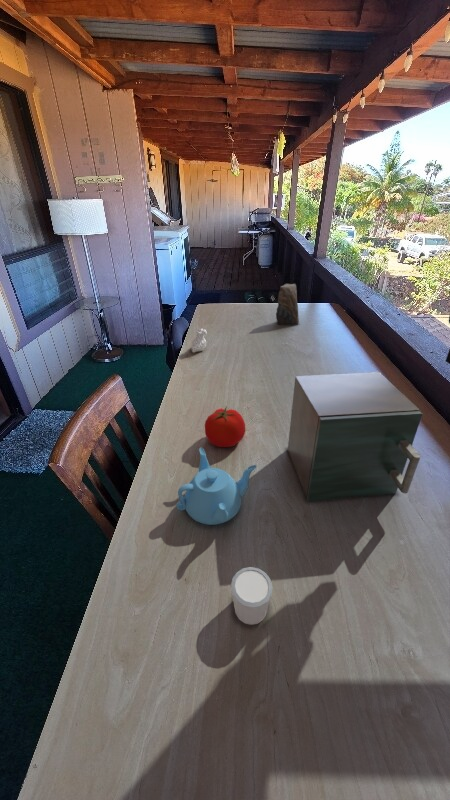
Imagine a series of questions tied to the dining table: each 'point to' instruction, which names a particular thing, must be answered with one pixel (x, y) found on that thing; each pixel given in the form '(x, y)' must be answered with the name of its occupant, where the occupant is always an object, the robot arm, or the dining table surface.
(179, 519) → the dining table surface
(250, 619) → the glass of milk
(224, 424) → the tomato
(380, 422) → the cupboard door
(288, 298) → the brown rock
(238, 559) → the dining table surface
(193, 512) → the teapot
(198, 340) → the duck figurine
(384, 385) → the cupboard
